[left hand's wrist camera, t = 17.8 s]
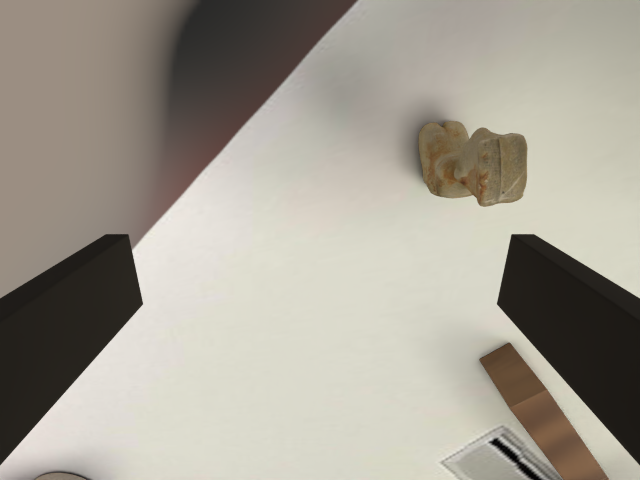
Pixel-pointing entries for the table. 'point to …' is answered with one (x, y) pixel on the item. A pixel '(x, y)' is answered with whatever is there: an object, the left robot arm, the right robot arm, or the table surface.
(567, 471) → the bar
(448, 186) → the sculpture
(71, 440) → the table surface
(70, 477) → the bust sculpture
